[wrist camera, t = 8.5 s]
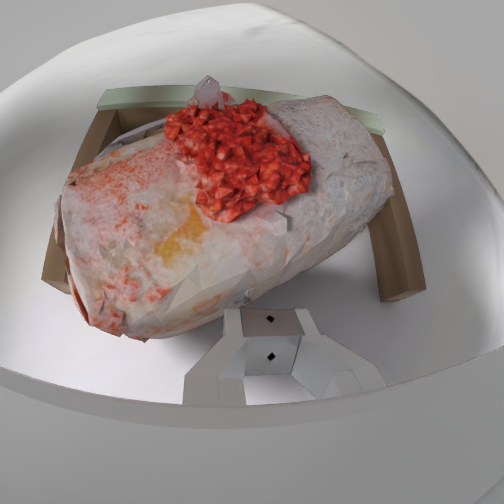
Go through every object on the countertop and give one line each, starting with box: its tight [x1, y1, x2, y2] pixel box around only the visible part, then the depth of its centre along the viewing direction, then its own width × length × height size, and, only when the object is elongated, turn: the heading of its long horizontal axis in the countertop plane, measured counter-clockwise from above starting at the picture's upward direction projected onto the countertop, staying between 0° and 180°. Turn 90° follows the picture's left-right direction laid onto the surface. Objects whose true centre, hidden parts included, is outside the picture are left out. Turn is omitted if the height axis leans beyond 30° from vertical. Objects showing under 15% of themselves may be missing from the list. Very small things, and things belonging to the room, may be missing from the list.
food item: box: [54, 75, 395, 343], centre depth 11 cm, size 14×8×10 cm, turn 121°
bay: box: [41, 85, 426, 302], centre depth 16 cm, size 21×14×4 cm, turn 91°
